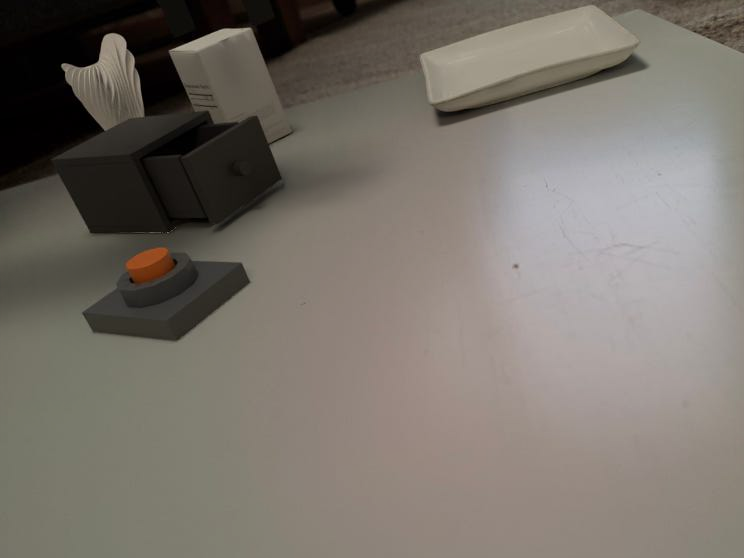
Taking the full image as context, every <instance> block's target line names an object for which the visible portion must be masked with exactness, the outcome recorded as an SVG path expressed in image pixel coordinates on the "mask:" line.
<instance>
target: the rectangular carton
mask: <svg viewBox="0 0 744 558" xmlns="http://www.w3.org/2000/svg"><path fill="white" fill-rule="evenodd" d="M168 54H169V55H170V58H171V60H172V63H173V65H174V67H175V69H176V72H177V74H178V76H179V78H180V80H181V83H182V85H183V87H184V89H185V92H186V94H187V96H188V98H189V99H188V100H189V101H190V103H191V105H192V107H193V110H194V112H198V111H209V113H210V115H211V118H212V120H213V122H214V124H218V123H229V122H238V123H240V122H241V121H243V120H245V119H246V118H248V117H250V116H258V119H259V121H260V124H261V126H262V129H263V131H264V134H265V136H266V139H267V141H268V144H269V145H270V144H272V143H273V142H275V141H277V140H279V139H281V138H283V137H286V136H287V135H289V134H291V133H293V132H292V129H291V127H290V126H291V125H290V123H289V120H288V118H287V116H286V113H285V110H284V108H283V105H282V103H281V100H280V97H279V95H278V93H277V90H276V88H275V84H274V82H273V79H272V78H271V74H270V72H269V70H268V67H267V64H266V61H265V59H264V57H263V54H262V52H261V50H260V47H259V44H258V42H257V39H256V36H255V34H254V31H253V29H252V27H242V28H222V29H219V30H217V31H214V32H211V33H209V34H206V35H204V36H202V37H199V38H197V39H194V40H192V41H190V42H187V43H184V44H182V45H179V46H177V47H175V48H172V49H169V50H168Z"/></svg>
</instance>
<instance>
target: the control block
mask: <svg viewBox="0 0 744 558" xmlns="http://www.w3.org/2000/svg"><path fill="white" fill-rule="evenodd" d="M169 253H170V255H171V257H172V259H173V261H174V263H175V268H174V269H172V270H171V271H170V272H168V273H167V274H166V275H164V276H161V277H159V278H157V279H155V280H152V281H149V282H145V283H141V284H136V283H134V282H133V280H132V278H131V276H130V274H129V273H128V271H127V270H126V272H124V273H122V274H121V276H120V277H119V278H118V280H117V281H116V283H115V285H116V288H114V289H113V290H112V291H111V292H108V294H106V295H104V297H102V298H101V299H99V300H97V301H96V302H95V303H93V304H92V305H91V306H89V307H88V308H86V309H84V310H83V311H82V312H81V314H82V316H83V317H84V319H85V321H86V323H87V324H88V326H89V328H90V330H91V332H92V333H101V334H111V335H120V336H121V335H122V336H130V337H138V338H139V337H140V338H147V339H148V338H149V339H158V340H167V341H179V340H180V339H181V338H182V337H183V336H185V335H186V334H187V333H189V332H190V331H191V330H192V329H194V328H195V327H196V326H197V325H199V324H200V323H201V322H202V321H203V320H205V319H206V318H208V317H209V315H211V314H212V313H213V312H215V311H216V310H217V309H218V308H220V307H221V306H222V305H224V304H225V303H226V302H228V301H229V300H230V299H231V298H233V296H234V295H236V294H237V293H238V292H240V291H241V290H243V288H245V287H246V286H247V285H248V284H250V283H251V280H250V278H249V276H248V274H247V271H246V269H245V267H244V265H243V262H242V261H241V262H237V261H215V260H213V261H212V260H211V261H210V260H208V261H207V260H192V258H191V257H190V256H189V255H188V254H187V253H186V252H169Z"/></svg>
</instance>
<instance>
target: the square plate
mask: <svg viewBox="0 0 744 558" xmlns="http://www.w3.org/2000/svg"><path fill="white" fill-rule="evenodd" d="M639 44H641V41H640V39H638V37H636V36H635V35H634V34H633V33H631V32H630V31H629V30H627V29H626V28H625V27H623V25H621V24H620V23H618V22H617V21H615V20H614V18H612V17H611V16H609V15H608V14H607V13H605V12H604V11H603V10H601V9H600V8H599V7H597V6H596V5H593V4H588V5H585V6H581V7H577V8H573V9H569V10H565V11H561V12H556V13H553V14H548V15H545V16H540V17H536V18H532V19H529V20H525V21H521V22H518V23H514V24H511V25H507V26H504V27H501V28H500V27H499V28H497V29H493V30H491V31H487V32H483V33H481V34H478V35H475V36H471V37H468V38H465V39H462V40H459V41H456V42H453V43H451V44H447V45H444V46H441V47H439V48H435V49H432V50H428V51H426V52H423V53H421V54H420V55H419V62H420V65H421V68H422V71H423V76H424V81H425V89H426V97H427V102H428V104H429V106H431V107H433V108H434V109H437V110H439V111H441V112H450V113H451V112H457V111H458V112H459V111H462V110H473V109H479V108H483V107H487V106H491V105H495V104H498V103H502V102H506V101H510V100H513V99H516V98H520V97H523V96H527V95H529V94H533V93H537V92H541V91H543V90H544V91H545V90H547V89H551V88H554V87H558V86H562V85H565V84H569V83H572V82H576V81H580V80H583V79H585V78H588V77H591V76H593V75H595V74H598V73H599V72H601V71H603V70H606V69H609V68H611V67H614V66H617V65H619V64H621V63H623V62H624V61H626V60H627V59H628V58H629V57H630V56H631V55H632V53H634V51H635V50H636V49H637V48H638V46H639Z"/></svg>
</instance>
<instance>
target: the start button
mask: <svg viewBox="0 0 744 558" xmlns="http://www.w3.org/2000/svg"><path fill="white" fill-rule="evenodd" d="M170 253H171V252H170V251H169V249H168V248H166V247H155V248H151V249H148V250H144V251H142V252H140V253H138V254H136V255H135V256H132V258H130V259H129V260H128V261H127V262H126V263H125V269H126V272H127V271H128V273H129V274H130V276H131V278H132V280H133V282H134V283H136V284H141V283H145V282H149V281H152V280H155V279H157V278H159V277H161V276H164V275H166V274H167V273H168V272H170V271H171V270H172V269H174V268H175V263H174V261H173V259H172V257H171V255H170Z"/></svg>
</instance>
